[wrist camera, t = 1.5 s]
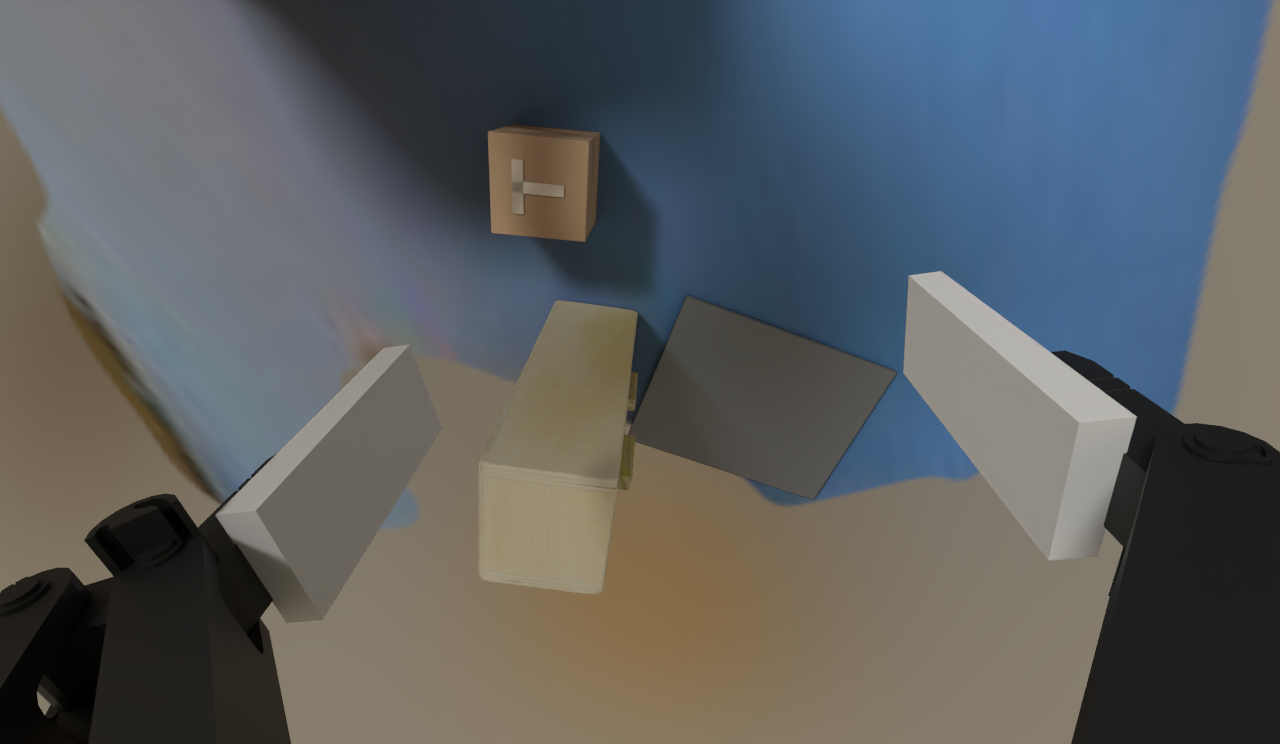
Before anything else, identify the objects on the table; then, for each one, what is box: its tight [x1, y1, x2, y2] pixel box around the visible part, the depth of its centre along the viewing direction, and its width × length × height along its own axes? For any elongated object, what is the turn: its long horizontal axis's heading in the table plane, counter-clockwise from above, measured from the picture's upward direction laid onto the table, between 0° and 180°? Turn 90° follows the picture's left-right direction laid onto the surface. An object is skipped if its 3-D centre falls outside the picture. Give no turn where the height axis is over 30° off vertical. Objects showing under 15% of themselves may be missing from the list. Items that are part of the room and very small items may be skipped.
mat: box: [628, 295, 897, 500], centre depth 48 cm, size 18×14×1 cm
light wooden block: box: [478, 300, 638, 594], centre depth 37 cm, size 8×7×21 cm
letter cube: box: [488, 124, 600, 242], centre depth 38 cm, size 6×6×6 cm
